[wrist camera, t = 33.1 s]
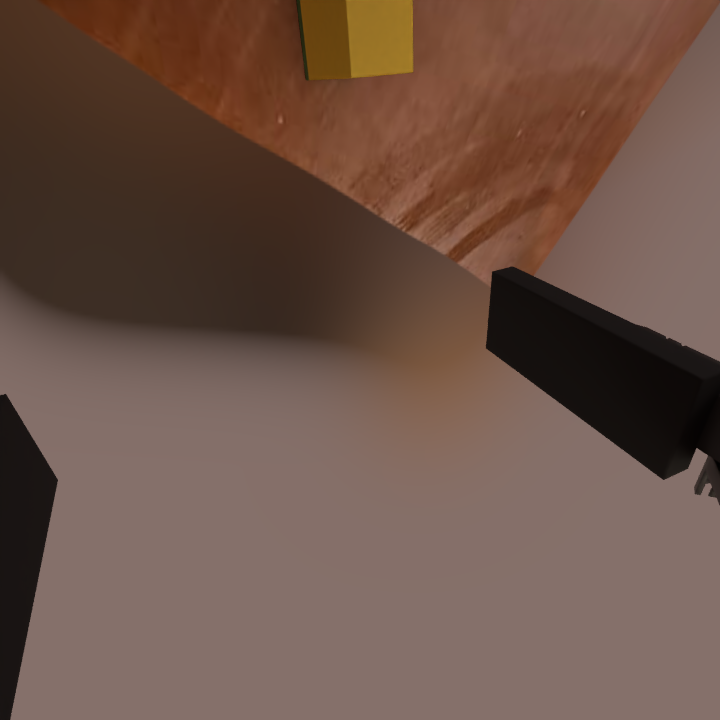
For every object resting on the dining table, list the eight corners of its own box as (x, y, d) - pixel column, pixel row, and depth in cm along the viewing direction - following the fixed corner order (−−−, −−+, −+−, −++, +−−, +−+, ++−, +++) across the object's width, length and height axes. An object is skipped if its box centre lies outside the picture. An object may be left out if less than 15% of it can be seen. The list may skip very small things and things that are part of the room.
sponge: (305, 80, 33) (351, 78, 26) (292, -27, 30) (341, -62, 23) (356, 75, 35) (413, 72, 27) (349, -28, 31) (412, -62, 24)
